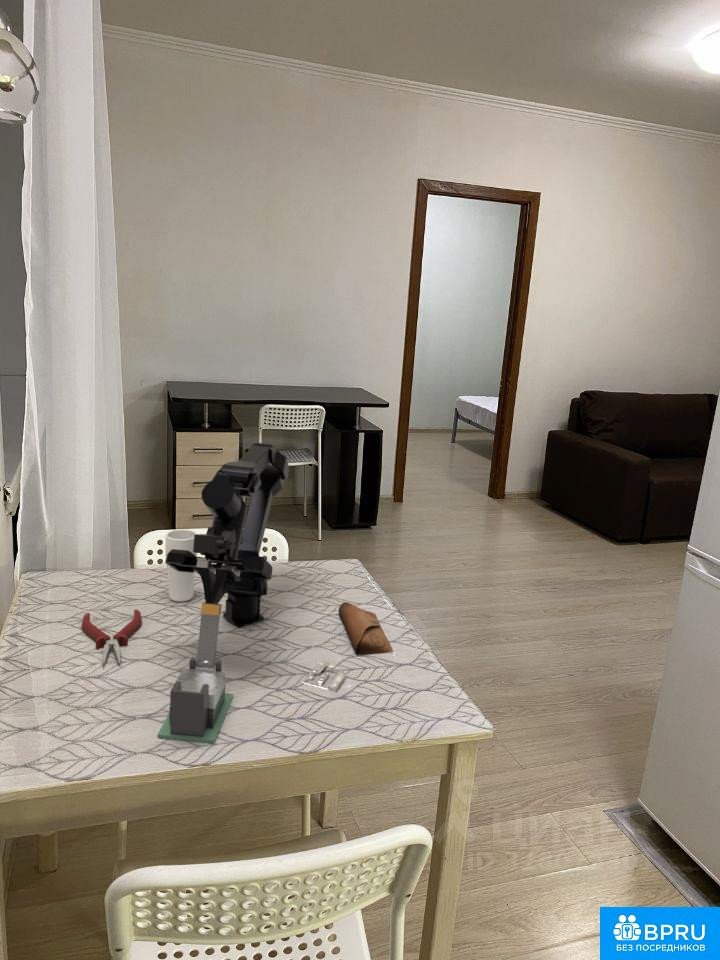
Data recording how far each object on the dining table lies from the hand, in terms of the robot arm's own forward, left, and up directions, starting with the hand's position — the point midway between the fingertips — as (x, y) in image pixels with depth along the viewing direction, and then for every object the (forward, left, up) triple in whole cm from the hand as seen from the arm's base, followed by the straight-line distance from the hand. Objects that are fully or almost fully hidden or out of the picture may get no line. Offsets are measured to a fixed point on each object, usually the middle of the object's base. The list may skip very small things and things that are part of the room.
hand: (209, 610), depth 126 cm
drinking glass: (-11, -31, -13) cm, 35 cm away
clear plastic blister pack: (-17, +13, -13) cm, 25 cm away
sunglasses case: (-35, +4, -13) cm, 37 cm away
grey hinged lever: (+5, +7, -6) cm, 10 cm away
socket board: (+8, +10, -13) cm, 18 cm away
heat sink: (+8, +10, -12) cm, 17 cm away
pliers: (+10, -22, -13) cm, 28 cm away
